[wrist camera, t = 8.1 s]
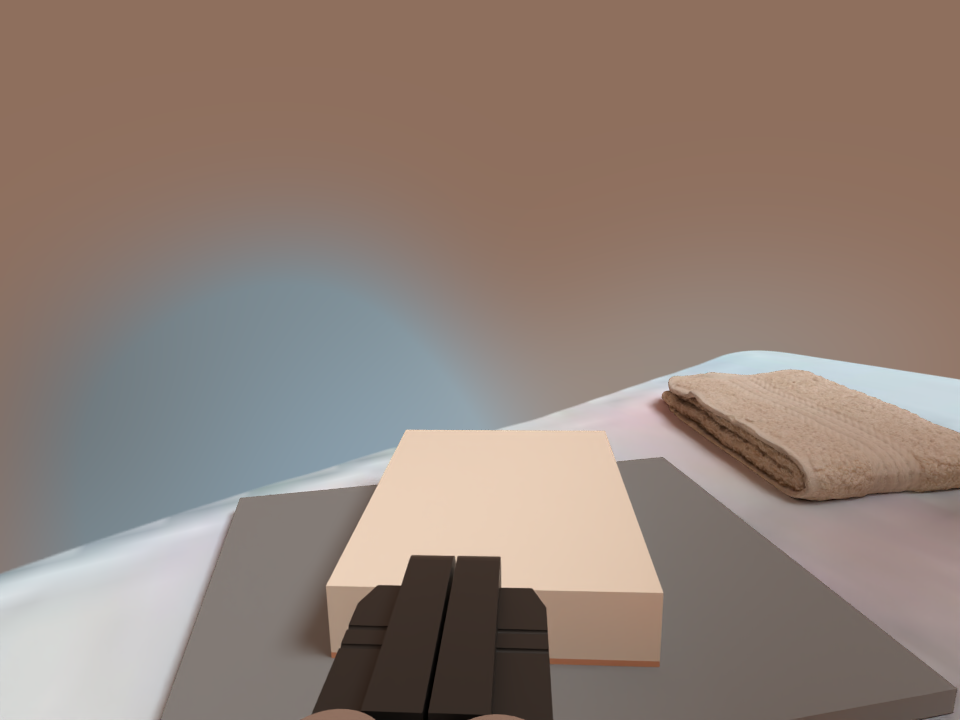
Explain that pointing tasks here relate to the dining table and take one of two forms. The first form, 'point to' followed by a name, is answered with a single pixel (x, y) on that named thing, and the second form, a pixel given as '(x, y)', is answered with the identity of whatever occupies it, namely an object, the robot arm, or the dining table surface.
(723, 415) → the washcloth
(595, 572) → the tile
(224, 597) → the mat
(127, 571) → the dining table surface
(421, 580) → the robot arm
